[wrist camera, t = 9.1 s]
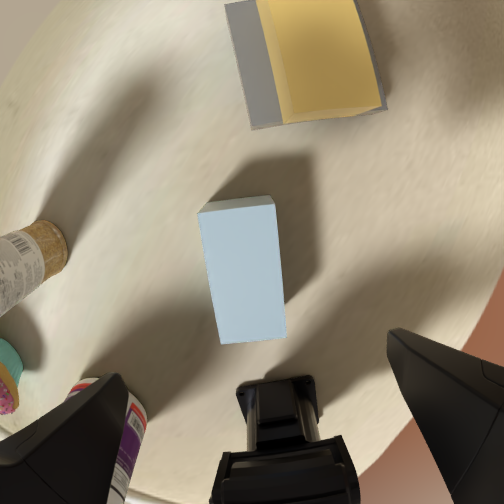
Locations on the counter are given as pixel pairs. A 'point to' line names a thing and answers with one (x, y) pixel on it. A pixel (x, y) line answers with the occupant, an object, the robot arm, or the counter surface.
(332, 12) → the ochre brick
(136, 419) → the pill bottle
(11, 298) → the sprinkles bottle
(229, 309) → the blue brick
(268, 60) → the base slab
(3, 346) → the cupcake
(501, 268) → the counter surface
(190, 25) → the counter surface
